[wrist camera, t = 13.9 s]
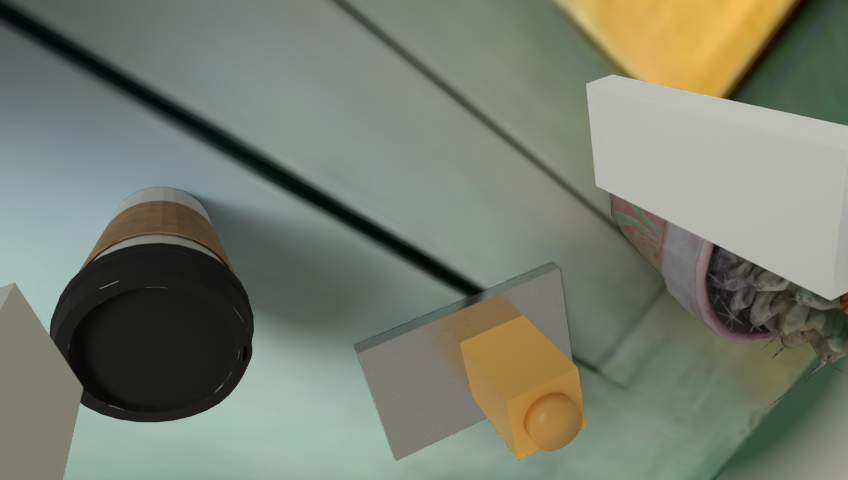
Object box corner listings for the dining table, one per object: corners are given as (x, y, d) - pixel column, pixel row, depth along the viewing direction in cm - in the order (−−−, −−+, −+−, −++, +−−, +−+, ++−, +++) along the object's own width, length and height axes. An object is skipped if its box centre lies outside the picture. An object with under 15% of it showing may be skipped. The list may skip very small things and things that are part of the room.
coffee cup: (227, 289, 41) (251, 428, 29) (88, 290, 38) (44, 448, 25) (235, 171, 39) (266, 268, 26) (86, 161, 35) (35, 266, 22)
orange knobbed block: (472, 396, 52) (528, 474, 44) (459, 342, 49) (516, 415, 41) (532, 369, 53) (597, 439, 45) (523, 315, 50) (590, 379, 42)
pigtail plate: (391, 451, 52) (415, 504, 47) (353, 345, 47) (376, 391, 42) (567, 369, 56) (608, 409, 51) (552, 262, 51) (596, 294, 46)
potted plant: (759, 219, 58) (1098, 358, 37) (592, 313, 55) (858, 527, 34) (748, 38, 49) (1186, 83, 28) (549, 137, 46) (873, 275, 25)
